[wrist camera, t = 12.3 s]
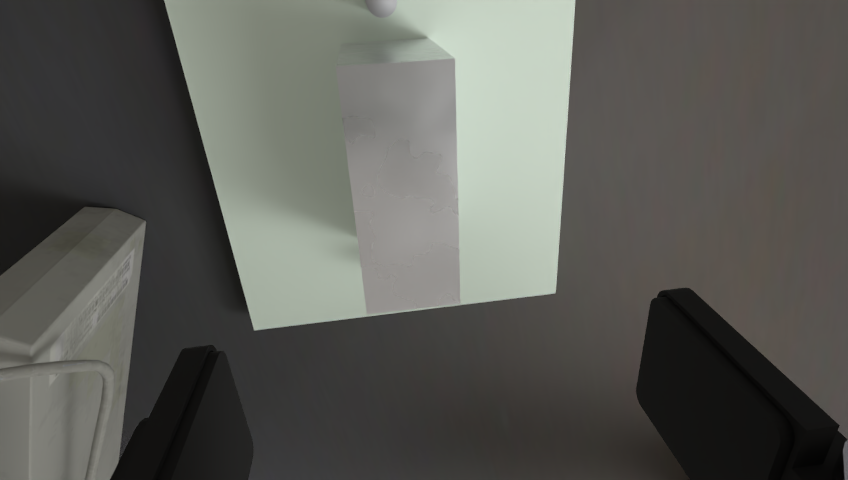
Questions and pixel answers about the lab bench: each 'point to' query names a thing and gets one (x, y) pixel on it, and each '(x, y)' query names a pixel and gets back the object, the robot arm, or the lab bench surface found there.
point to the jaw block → (402, 170)
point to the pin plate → (326, 150)
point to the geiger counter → (69, 348)
